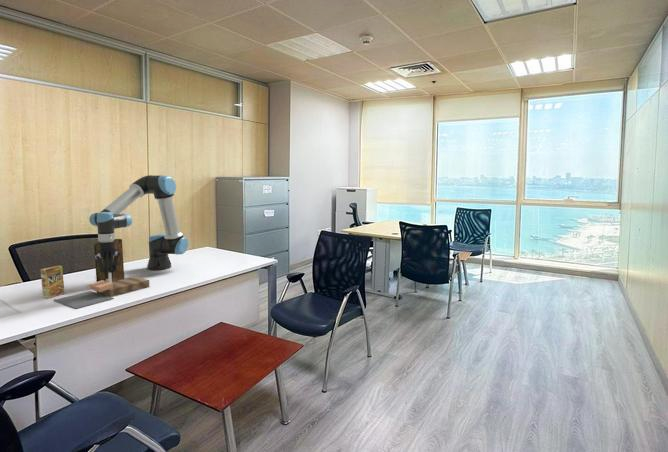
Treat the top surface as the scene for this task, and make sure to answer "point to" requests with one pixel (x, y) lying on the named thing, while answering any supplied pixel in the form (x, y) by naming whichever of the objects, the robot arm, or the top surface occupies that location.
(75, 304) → the mat
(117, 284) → the tan panel
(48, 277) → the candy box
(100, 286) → the block
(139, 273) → the top surface
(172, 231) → the robot arm
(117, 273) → the book
